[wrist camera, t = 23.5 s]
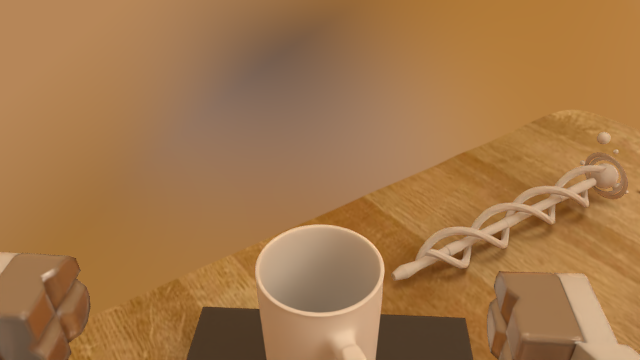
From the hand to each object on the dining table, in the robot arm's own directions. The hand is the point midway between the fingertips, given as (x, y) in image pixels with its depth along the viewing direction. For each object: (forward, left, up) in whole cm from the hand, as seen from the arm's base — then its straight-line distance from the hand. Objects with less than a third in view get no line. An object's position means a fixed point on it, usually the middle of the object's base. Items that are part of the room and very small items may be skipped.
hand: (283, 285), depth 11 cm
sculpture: (+18, +33, -26) cm, 46 cm away
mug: (0, +12, -24) cm, 27 cm away
